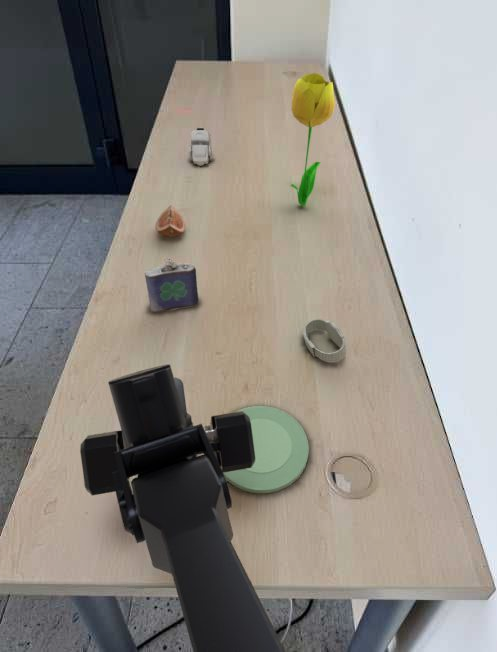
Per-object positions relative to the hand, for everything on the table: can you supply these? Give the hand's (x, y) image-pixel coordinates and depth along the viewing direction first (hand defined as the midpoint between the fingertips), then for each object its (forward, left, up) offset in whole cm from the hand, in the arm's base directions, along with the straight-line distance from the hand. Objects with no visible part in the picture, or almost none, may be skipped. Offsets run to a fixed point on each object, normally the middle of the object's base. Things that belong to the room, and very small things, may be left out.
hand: (170, 435), depth 63 cm
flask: (+34, +6, -9) cm, 36 cm away
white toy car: (+94, +9, -9) cm, 95 cm away
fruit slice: (+58, +11, -9) cm, 60 cm away
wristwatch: (+25, -22, -9) cm, 35 cm away
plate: (+4, -12, -9) cm, 15 cm away
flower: (+72, -19, -9) cm, 75 cm away
